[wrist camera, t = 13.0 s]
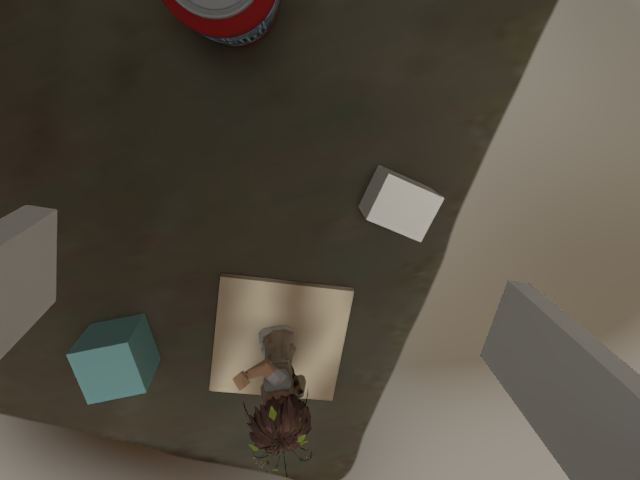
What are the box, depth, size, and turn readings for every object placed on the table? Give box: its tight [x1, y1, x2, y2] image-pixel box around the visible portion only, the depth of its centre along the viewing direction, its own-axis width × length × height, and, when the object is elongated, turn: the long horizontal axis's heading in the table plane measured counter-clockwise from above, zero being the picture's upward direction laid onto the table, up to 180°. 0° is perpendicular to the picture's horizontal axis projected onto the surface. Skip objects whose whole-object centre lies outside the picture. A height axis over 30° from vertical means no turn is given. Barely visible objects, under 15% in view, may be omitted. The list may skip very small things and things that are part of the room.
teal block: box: [66, 313, 161, 404], centre depth 40 cm, size 5×5×5 cm
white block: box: [358, 165, 444, 242], centre depth 38 cm, size 5×4×4 cm
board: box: [209, 273, 354, 401], centre depth 43 cm, size 12×12×1 cm
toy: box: [232, 326, 313, 480], centre depth 36 cm, size 6×6×15 cm
